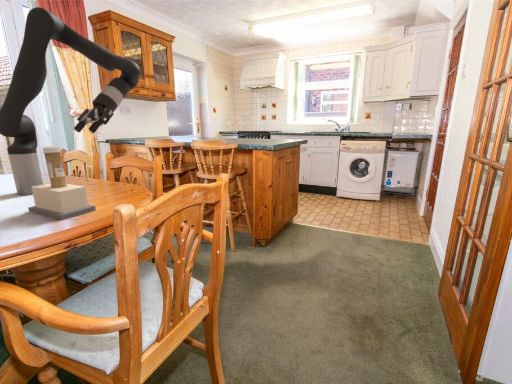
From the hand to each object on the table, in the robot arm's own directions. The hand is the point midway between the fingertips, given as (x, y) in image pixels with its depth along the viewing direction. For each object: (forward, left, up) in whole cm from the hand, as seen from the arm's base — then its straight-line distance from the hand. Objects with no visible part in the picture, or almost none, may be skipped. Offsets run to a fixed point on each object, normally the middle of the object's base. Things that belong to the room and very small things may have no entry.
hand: (83, 130), depth 94 cm
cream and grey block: (+1, -12, -27) cm, 30 cm away
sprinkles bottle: (+1, -12, -18) cm, 22 cm away
